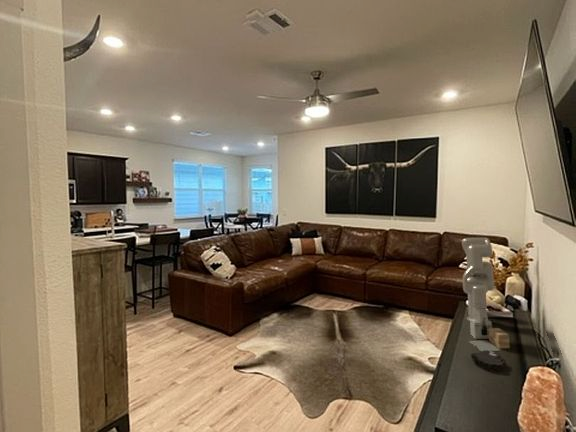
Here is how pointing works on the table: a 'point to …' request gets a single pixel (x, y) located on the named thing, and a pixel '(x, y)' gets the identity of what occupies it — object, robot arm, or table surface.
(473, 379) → the table surface
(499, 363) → the rock sample
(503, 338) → the tan block
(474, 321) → the light bulb box
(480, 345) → the grey mat
